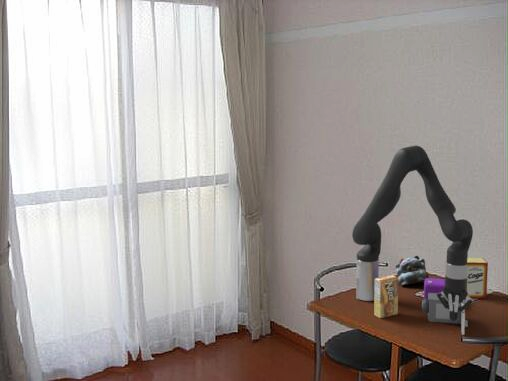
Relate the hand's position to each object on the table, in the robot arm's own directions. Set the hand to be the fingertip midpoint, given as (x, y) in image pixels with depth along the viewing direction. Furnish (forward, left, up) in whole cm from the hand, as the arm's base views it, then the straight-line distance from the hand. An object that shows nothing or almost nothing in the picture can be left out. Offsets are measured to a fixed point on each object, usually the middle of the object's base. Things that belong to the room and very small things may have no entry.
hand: (453, 320), depth 199 cm
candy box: (-24, +13, -5) cm, 28 cm away
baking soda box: (+12, +41, -5) cm, 43 cm away
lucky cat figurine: (-13, +52, -5) cm, 54 cm away
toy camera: (-4, +31, -5) cm, 31 cm away
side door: (+4, +3, -4) cm, 6 cm away
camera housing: (-3, +12, -5) cm, 13 cm away
